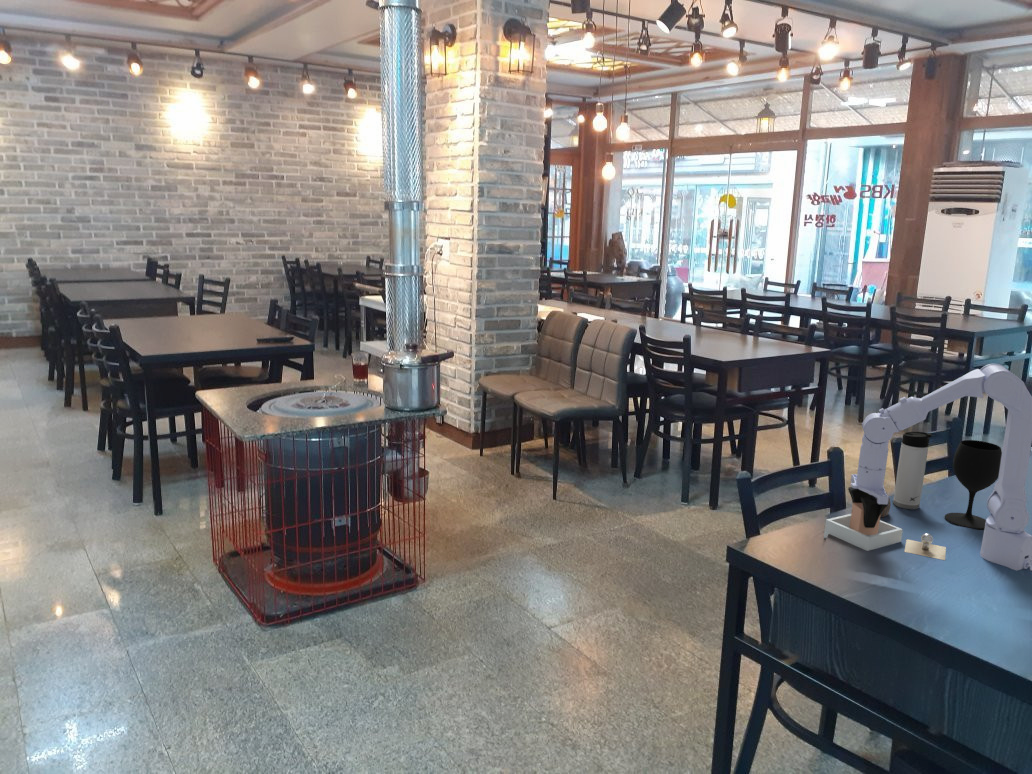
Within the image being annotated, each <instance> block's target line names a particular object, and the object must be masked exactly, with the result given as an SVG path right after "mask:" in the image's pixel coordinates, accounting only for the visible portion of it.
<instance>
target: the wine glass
mask: <svg viewBox="0 0 1032 774" xmlns="http://www.w3.org/2000/svg"><path fill="white" fill-rule="evenodd" d="M1001 456H1002V448H1001V446H1000V445H998V444H995V443H992V442H988V441H983V440H976V439H975V440H974V439H964V440H961V441H960V442H959V444H958V445H957V448H956V450H955V453H954V456H953V460H952V468H953V473H954V475H955V477H956V479H957V480H958V482H959V483H960V484H961V485H962V486H963V487H964V488H965V489H966V490H967V491H968V503H967V508H966V512H965V513H964V512H948V513H946V514H944V516H943V518H944V520H945V521H946V522H948V523H949V524H952V525H953V526H956V527H961V528H967V529H971V530H977V531H984V529H985V523H986V519H987V518H984V517H982V516H979V515H974V514H973V506H974V505H973V504H974V502H975V501H974V500H975V496H976V494H977V493H978V492H980V491H982V490H985V489H987V488H989V487H990V486H992V485H993V484H995V483H996V482H997V481H998V476H999V470H1000V463H1001Z"/></svg>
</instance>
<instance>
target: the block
mask: <svg viewBox="0 0 1032 774" xmlns="http://www.w3.org/2000/svg"><path fill="white" fill-rule="evenodd" d="M851 508H852V509H851V512H850V514H851V520H850V528H851V529H853V530H855V531H858V532H860V533H862V534H865V535H867V536H871V535H875V534H878V529H879V522H880V520H881V517H880V516H879V518H878V520H877V523H876V525H875V527H874V528H866V527H864V509H863V504H862V503H853V502H852V505H851ZM880 515H881V514H880Z"/></svg>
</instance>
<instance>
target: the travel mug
mask: <svg viewBox="0 0 1032 774" xmlns="http://www.w3.org/2000/svg"><path fill="white" fill-rule="evenodd" d="M932 436H933V434H932V433H930V432H924V431H906V432H904V433H903V434H902V440H901V445H900V449H899V450H900V451H899V458H898V464H897V465H898V466H897V472H896V478H895V485H894V493H893V500H892V503H893V505H894V506H896V507H898V508H900V509H905V510H917V509H919V508H920V506H921V505H920V504H921V498H922V494H923V485H924V478H925V473H926V472H925V471H926V466H927V465H926V464H927V461H928V460H927V458H928V452H929V445H930V444H929V443H930V438H932Z"/></svg>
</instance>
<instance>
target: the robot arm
mask: <svg viewBox="0 0 1032 774" xmlns="http://www.w3.org/2000/svg"><path fill="white" fill-rule="evenodd" d="M983 393H985V394H986V395H987V396H988V397H989V398H991V400H994V401H996V402H998V403H1000V404H1001V405H1003V406H1004V407H1005V408H1006V409H1007V415H1006V423H1005V430H1004V438H1003V442H1002V443H1003V444H1002V448H1001V451H1002V456H1001V463H1000V470H999V476H998V479H997V480H996V481H995V482H994V485H993V486H994V487H993V491H992V493H991V494H990V495H989V496H988V497H987V500H986V507H987V510H988V511H989V512H990V514H989V516H988V517H987V518H985V519H986V523H985V529H984V530H983V535H982V540H981V541H982V542H981V547H980V552H979V555H980V556H981V558H983V559H984V560H985V561H988V562H990V563H994V564H996V565H997V564H998V565H1001V566H1003V567H1006V568H1008V569H1011V570H1012V571H1013V570H1014V571H1020V570H1021V571H1022V570H1023V569H1025V570H1027V569H1028V568H1029V569H1030V572H1032V534H1030V533H1028V532H1026V530H1025V528H1026V527H1027V525H1028V524H1029V520H1030V515H1029V512H1028V510H1027V502H1028V501H1027V496H1026V495H1027V494H1026V480H1027V476H1028V467H1029V461H1030V454H1031V450H1032V395H1031V393H1030V392H1029V390H1028V388H1027V386H1026V384H1025V382H1024V381H1023V380H1022V379H1021V378H1019V377H1018V376H1017V375H1016V374H1014V373H1013V372H1012V371H1010V370H1009V369H1008V368H1007V367H1005V366H1004V365H1002V364H1000V363H999V364H998V363H989V364H986V365H984V366H982V367H981V368H980V369H979V368H976V369H973V370H971V371H969V372H967V373H966V374H964V375H962V376H960V377H958V378H956V379H955V380H953V381H951V382H949V383H947V384H945V385H943V386H942V387H940V388H937V389H935V390H934V391H932V392H931V393H928V394H926V395H924V396H923V397H921V398H920V397H915V396H910V397H908V398H907V397H906V396H903V397H900V398H899V402H897V403H895V404H893V405H891V406H889V407H887V408H883V407H882V408H879V410H878V412H877V413H876V412H872V413H869V414H867V416H865V418H864V419H863V421H862V423H861V427H862V430H863V435H862V438H861V442H862V443H861V444H860V449H859V450H860V451H859V457H858V463H857V464H858V465H857V471H856V473H857V474H856V473H854V474H852V473H851V475H850V486H849V487H848V489H847V490H848V492H849V494H850V498H851V501H852V502H851V503H852V504H853V503H862V504H863V509H864V527H866V528H874V527H875V525H876V523H877V520H878V518H879V516H880V514H881V513H882V511H883V510H884V509H885V507H886V506H887V505H888V504H889V501H888V499H890V495H887V494H888V493H887V491H886V489H885V486H884V483H885V478H886V477H885V476H886V470H887V463H888V457H889V441H890V440H891V439H892V437H893V436H894V434H895V433H896V434H897V433H900V432H902V431H903V430H906V429H908V428H911V427H913V426H914V425H917V424H918V423H922V422H923V421H925V420H926V419H927V416H928V413H929V412H931V411H934V410H936V409H938V408H940V407H943V406H945V405H947V404H948V405H949V404H950V403H952V402H955V401H957V400H959V399H962V398H965V397H972V398H981V399H984V394H983ZM886 493H887V494H886Z"/></svg>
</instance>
